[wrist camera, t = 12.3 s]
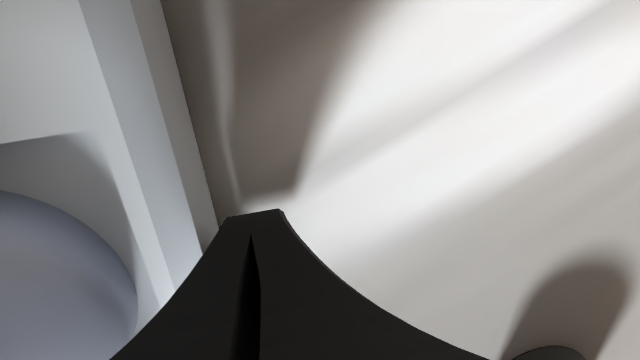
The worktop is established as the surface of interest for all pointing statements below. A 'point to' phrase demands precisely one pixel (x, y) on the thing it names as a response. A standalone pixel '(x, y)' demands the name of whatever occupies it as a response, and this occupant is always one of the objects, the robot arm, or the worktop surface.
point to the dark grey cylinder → (551, 354)
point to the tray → (106, 133)
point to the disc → (59, 286)
